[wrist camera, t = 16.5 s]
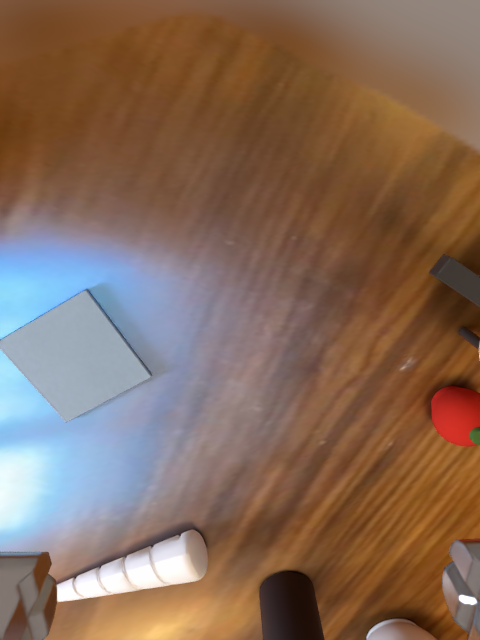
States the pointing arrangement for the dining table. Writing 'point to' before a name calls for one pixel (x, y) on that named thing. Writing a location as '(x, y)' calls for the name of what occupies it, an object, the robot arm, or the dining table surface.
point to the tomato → (457, 415)
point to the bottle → (289, 608)
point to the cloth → (75, 356)
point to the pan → (460, 287)
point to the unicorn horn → (142, 569)
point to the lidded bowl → (398, 631)
